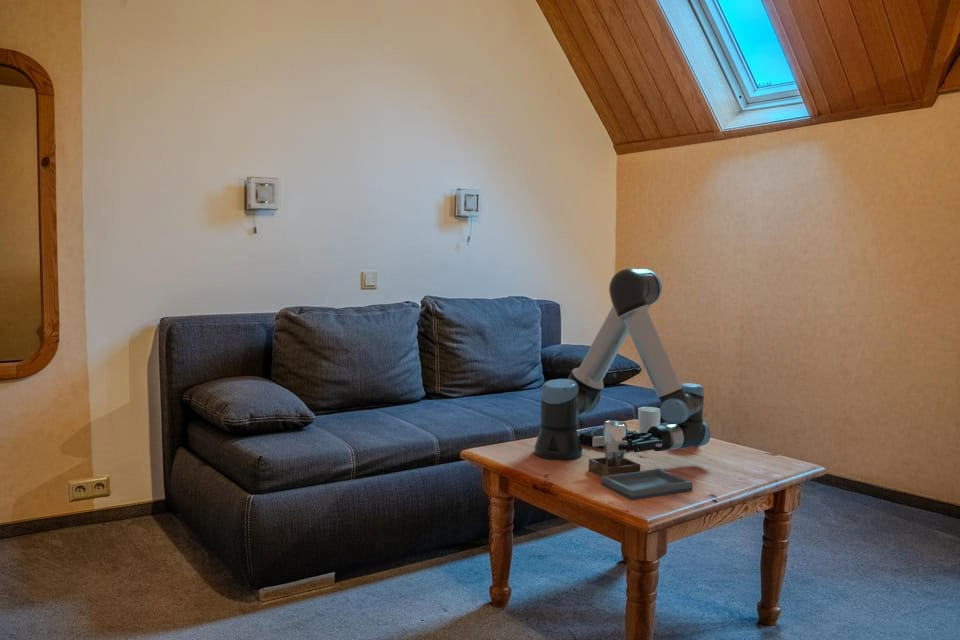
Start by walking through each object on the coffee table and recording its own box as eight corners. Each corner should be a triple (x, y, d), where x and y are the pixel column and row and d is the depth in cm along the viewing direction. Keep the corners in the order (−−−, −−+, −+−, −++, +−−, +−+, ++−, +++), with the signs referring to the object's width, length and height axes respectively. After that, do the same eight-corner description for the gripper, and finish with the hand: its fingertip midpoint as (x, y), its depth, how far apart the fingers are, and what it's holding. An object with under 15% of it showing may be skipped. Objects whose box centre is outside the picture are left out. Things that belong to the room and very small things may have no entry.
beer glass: (597, 471, 219) (598, 421, 218) (616, 469, 222) (618, 419, 221) (611, 478, 213) (612, 426, 212) (631, 475, 216) (632, 424, 215)
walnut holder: (588, 470, 220) (589, 459, 220) (618, 466, 225) (618, 455, 224) (609, 480, 211) (609, 468, 210) (639, 476, 215) (640, 464, 215)
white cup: (658, 434, 267) (659, 407, 266) (661, 439, 259) (662, 411, 258) (636, 433, 268) (636, 406, 267) (638, 439, 260) (639, 410, 259)
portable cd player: (606, 437, 264) (607, 426, 264) (648, 446, 252) (648, 434, 252) (577, 444, 253) (578, 433, 252) (619, 454, 241) (620, 442, 240)
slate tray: (601, 485, 206) (601, 476, 206) (659, 477, 215) (659, 468, 214) (631, 500, 194) (631, 491, 193) (691, 491, 202) (692, 482, 202)
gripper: (685, 457, 216) (620, 466, 206) (643, 442, 234) (581, 449, 224) (686, 432, 215) (620, 439, 206) (644, 418, 233) (582, 425, 223)
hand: (600, 444), depth 215 cm, fingers closed on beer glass, 7 cm apart
